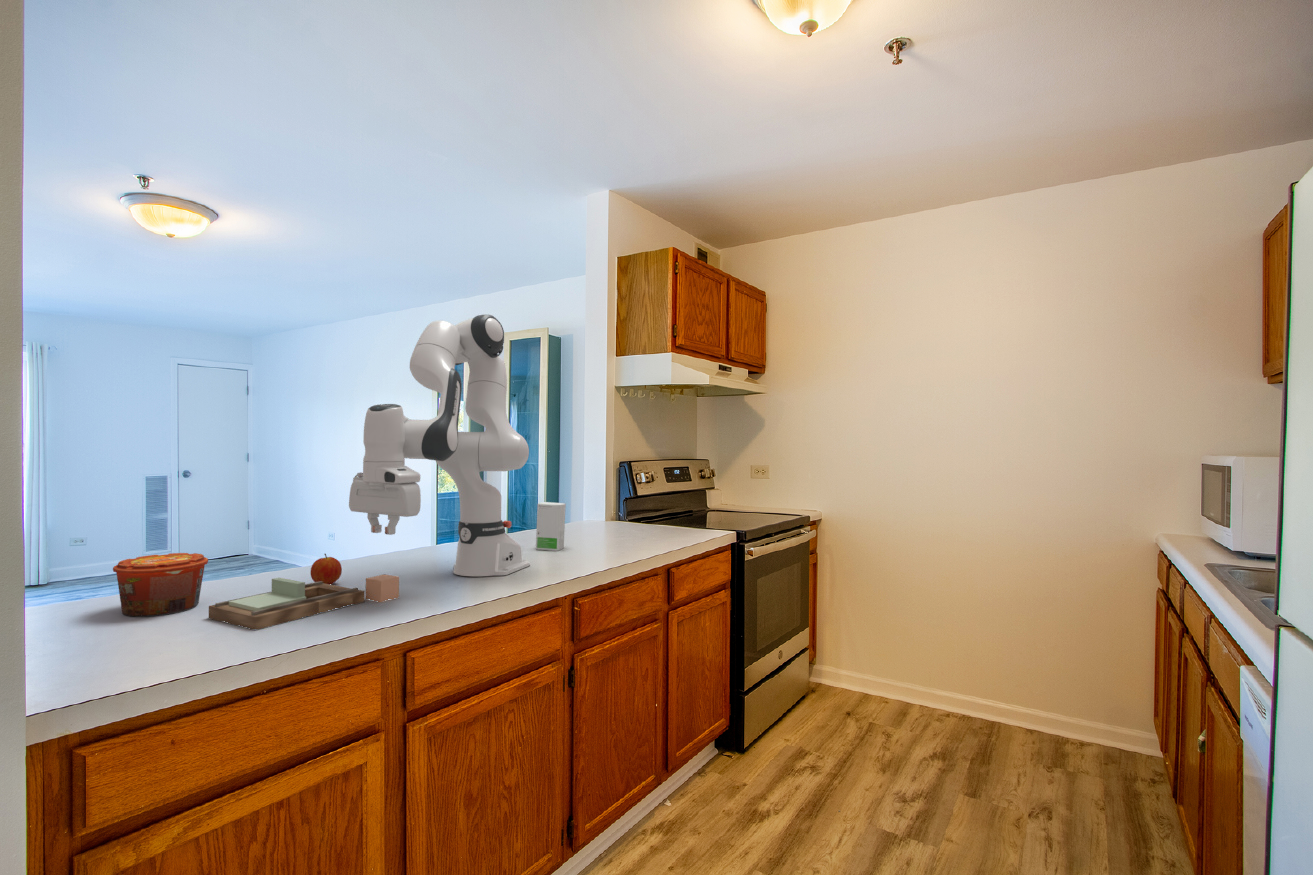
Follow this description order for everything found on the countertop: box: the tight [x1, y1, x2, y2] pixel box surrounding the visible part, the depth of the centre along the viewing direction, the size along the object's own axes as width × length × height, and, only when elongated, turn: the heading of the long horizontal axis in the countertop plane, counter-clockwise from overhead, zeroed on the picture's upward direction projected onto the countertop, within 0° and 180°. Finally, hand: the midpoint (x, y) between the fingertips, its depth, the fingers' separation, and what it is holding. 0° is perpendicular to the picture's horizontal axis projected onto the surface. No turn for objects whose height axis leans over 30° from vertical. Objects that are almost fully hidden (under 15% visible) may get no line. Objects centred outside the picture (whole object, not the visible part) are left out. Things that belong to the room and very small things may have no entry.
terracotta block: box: [365, 574, 400, 603], centre depth 144 cm, size 5×5×5 cm
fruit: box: [310, 553, 343, 585], centre depth 156 cm, size 7×7×8 cm
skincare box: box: [535, 501, 567, 552], centre depth 211 cm, size 8×7×16 cm
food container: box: [112, 552, 209, 618], centre depth 133 cm, size 16×16×11 cm
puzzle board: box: [208, 581, 365, 630], centre depth 134 cm, size 24×16×3 cm, turn 153°
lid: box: [228, 577, 306, 611], centre depth 130 cm, size 10×10×4 cm
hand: (383, 533), depth 144 cm, fingers open, 3 cm apart
